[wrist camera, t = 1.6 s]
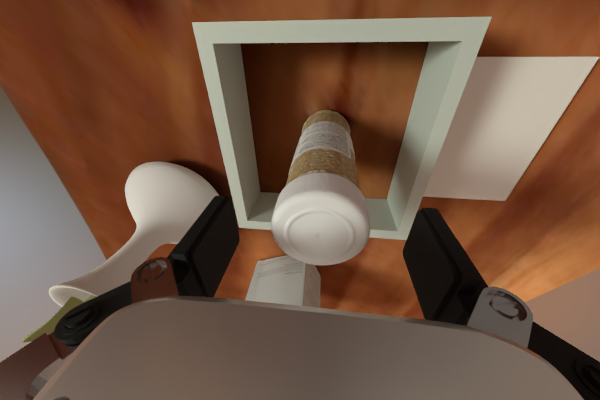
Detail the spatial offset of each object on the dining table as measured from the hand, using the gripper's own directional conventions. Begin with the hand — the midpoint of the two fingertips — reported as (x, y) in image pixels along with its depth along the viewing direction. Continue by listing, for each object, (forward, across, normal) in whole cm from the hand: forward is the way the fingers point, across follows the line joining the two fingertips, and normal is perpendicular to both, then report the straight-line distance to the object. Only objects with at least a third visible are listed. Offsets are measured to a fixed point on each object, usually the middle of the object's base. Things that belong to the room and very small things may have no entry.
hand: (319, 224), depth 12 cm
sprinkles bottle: (+12, 0, -1) cm, 12 cm away
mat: (+12, -14, -1) cm, 18 cm away
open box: (+12, 0, -1) cm, 12 cm away
